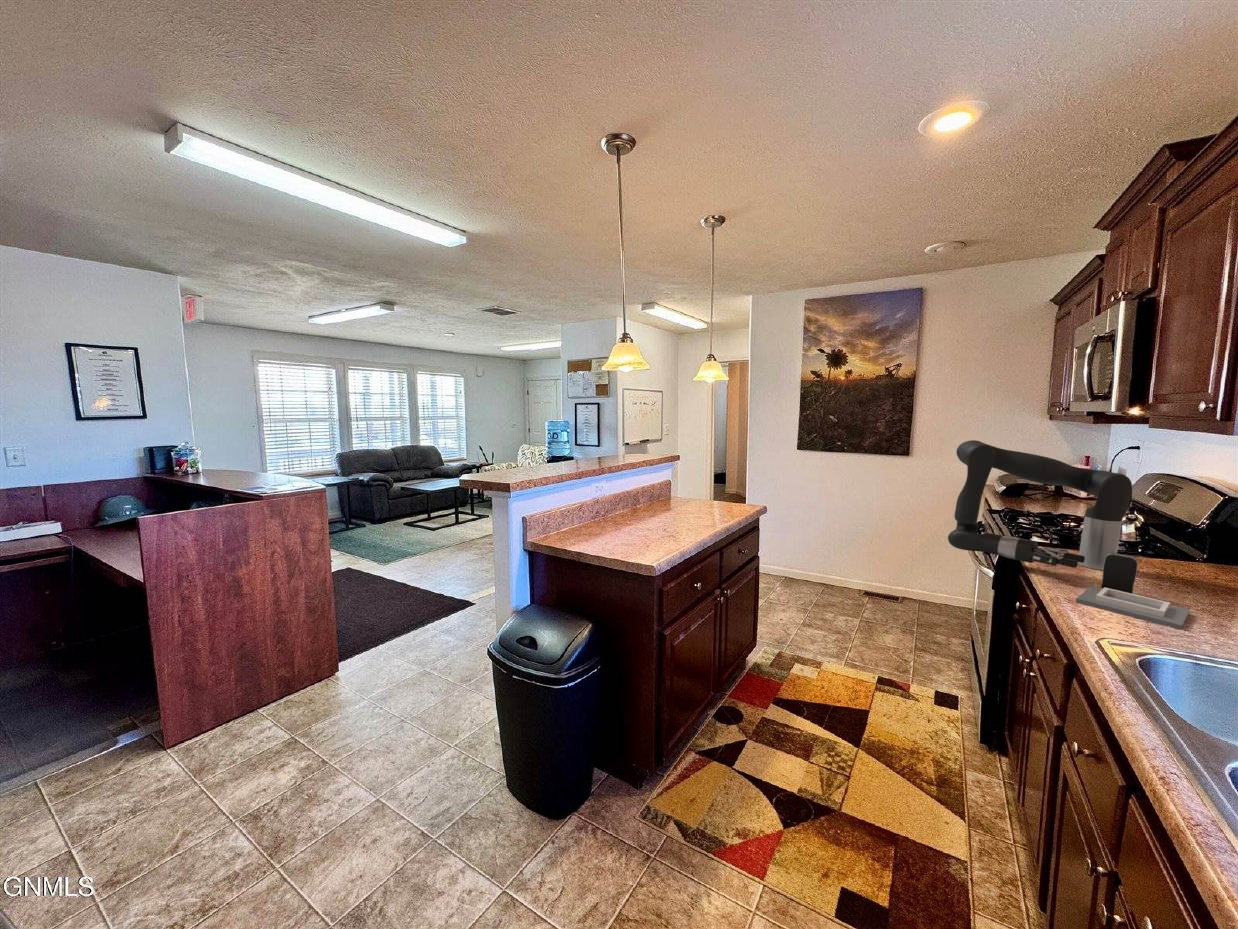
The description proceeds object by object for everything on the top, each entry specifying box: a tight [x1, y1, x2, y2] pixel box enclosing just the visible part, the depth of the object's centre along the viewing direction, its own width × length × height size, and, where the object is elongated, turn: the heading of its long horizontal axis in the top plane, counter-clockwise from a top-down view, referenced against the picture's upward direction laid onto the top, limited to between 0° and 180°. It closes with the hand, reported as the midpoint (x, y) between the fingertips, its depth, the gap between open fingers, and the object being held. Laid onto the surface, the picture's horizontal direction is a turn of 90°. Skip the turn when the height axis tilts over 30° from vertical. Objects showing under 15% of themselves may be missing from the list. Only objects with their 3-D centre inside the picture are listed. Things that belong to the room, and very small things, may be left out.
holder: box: [1075, 585, 1191, 630], centre depth 136 cm, size 16×20×3 cm
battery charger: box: [1100, 553, 1139, 594], centre depth 148 cm, size 7×4×11 cm, turn 40°
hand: (1081, 562), depth 154 cm, fingers open, 8 cm apart
